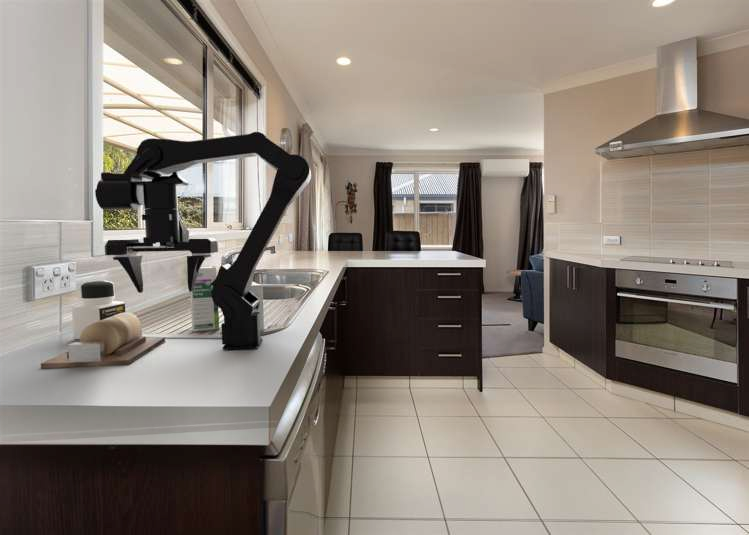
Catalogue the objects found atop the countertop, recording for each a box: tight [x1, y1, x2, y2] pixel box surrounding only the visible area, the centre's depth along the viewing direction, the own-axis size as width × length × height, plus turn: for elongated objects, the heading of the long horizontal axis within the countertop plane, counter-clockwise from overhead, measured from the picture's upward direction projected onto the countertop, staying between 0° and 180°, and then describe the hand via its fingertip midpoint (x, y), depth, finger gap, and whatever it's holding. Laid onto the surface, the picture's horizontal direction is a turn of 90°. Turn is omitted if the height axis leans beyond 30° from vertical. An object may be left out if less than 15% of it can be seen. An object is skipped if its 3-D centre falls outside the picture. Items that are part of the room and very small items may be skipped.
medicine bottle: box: [71, 280, 126, 340], centre depth 95 cm, size 7×7×12 cm
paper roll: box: [79, 311, 142, 356], centre depth 81 cm, size 6×10×6 cm, turn 6°
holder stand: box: [40, 329, 166, 369], centre depth 81 cm, size 14×16×4 cm
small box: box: [250, 281, 265, 332], centre depth 100 cm, size 8×6×10 cm
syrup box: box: [189, 265, 220, 333], centre depth 101 cm, size 6×6×14 cm
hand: (165, 291), depth 83 cm, fingers open, 9 cm apart
